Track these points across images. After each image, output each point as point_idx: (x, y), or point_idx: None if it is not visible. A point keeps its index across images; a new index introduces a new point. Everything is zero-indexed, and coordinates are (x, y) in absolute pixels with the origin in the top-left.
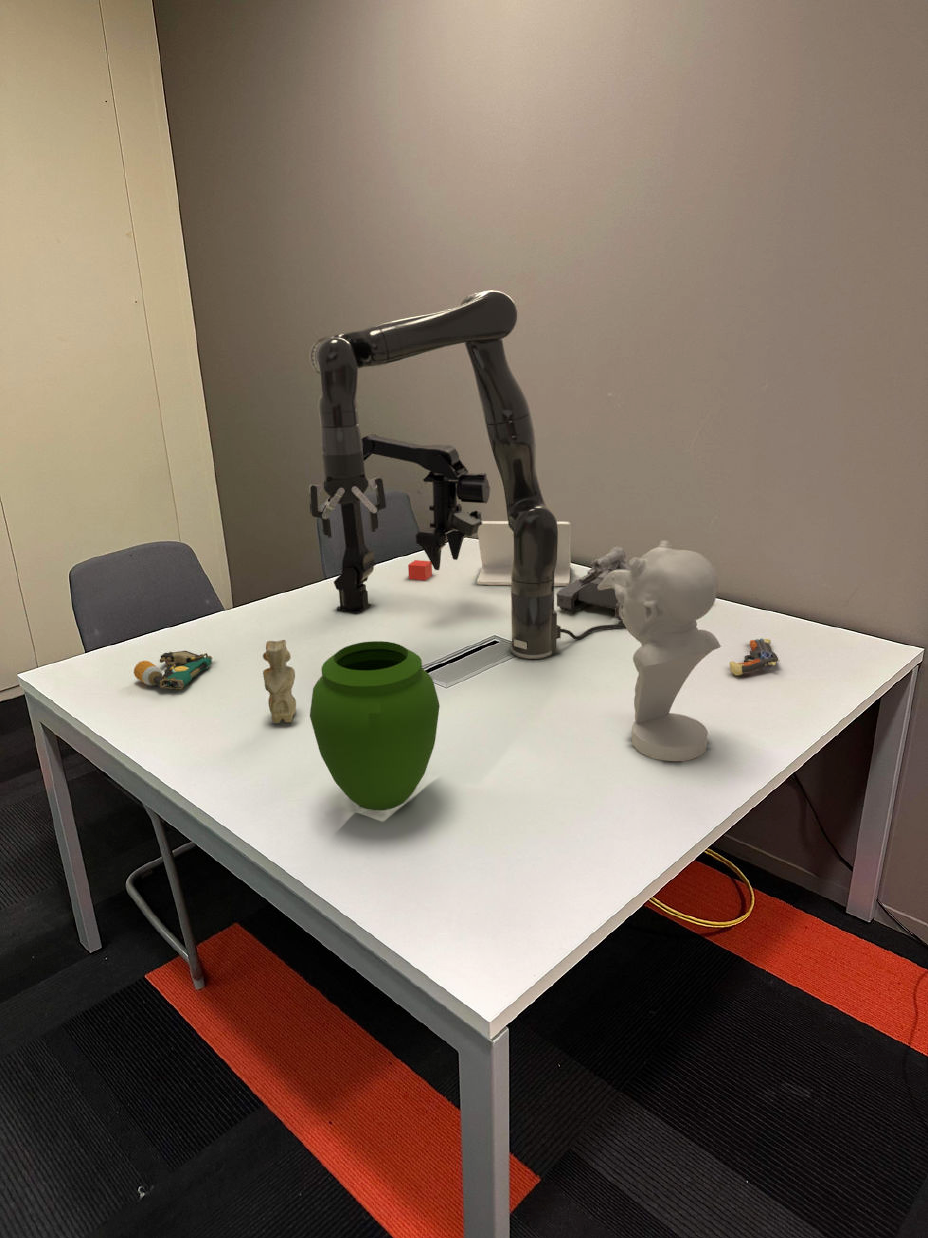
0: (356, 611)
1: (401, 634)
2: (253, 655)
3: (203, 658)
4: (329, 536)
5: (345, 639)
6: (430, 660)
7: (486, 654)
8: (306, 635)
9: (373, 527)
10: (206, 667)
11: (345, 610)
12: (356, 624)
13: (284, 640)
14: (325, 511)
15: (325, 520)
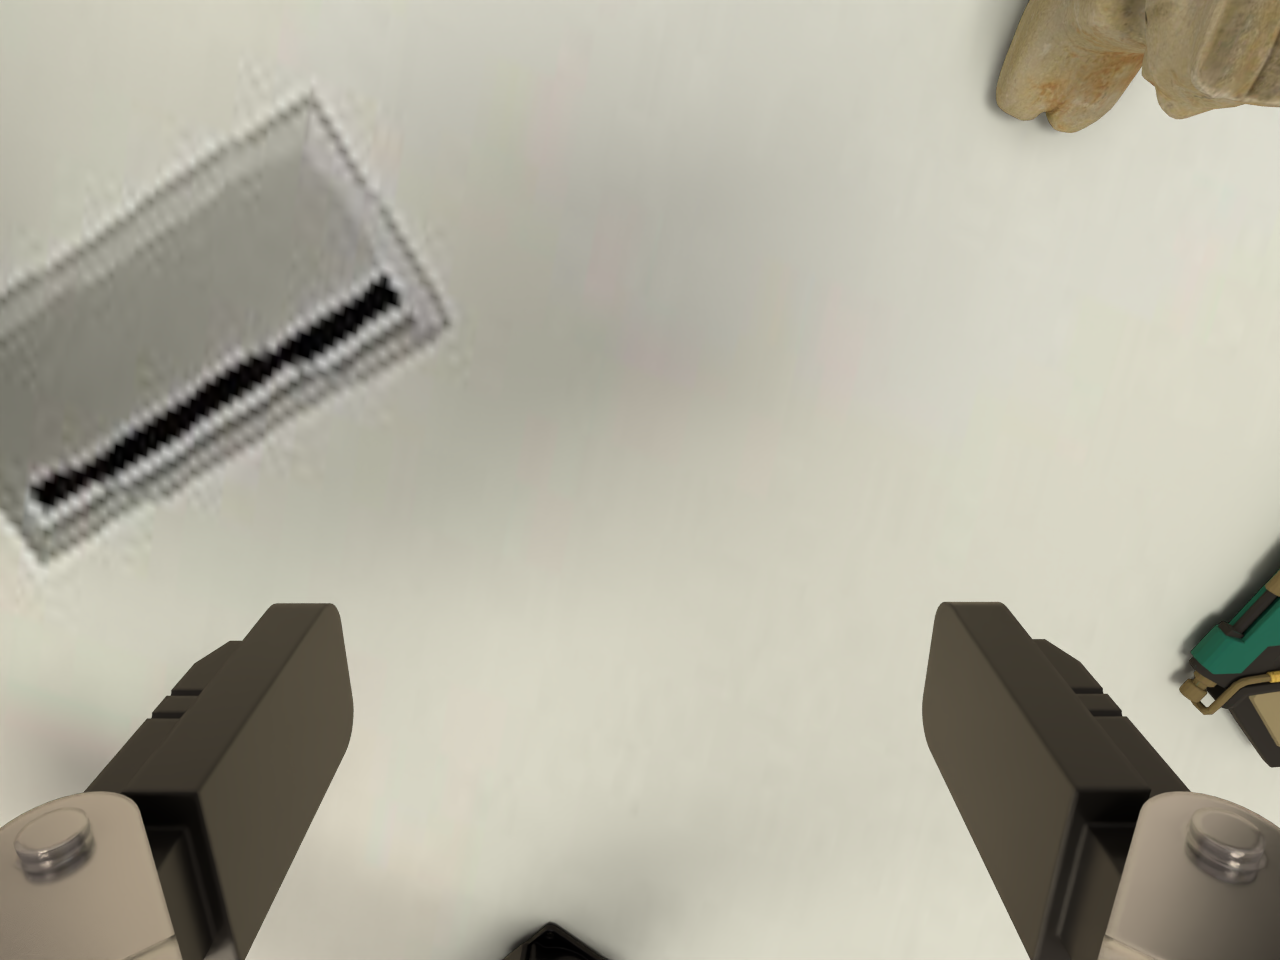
0: (553, 930)
1: (418, 694)
2: None
3: (1234, 670)
4: (979, 605)
5: (639, 721)
6: (340, 410)
7: (95, 386)
8: (774, 803)
9: (278, 628)
10: (1222, 621)
11: (591, 953)
12: (572, 835)
13: (1214, 45)
14: (1271, 938)
15: (1137, 803)
